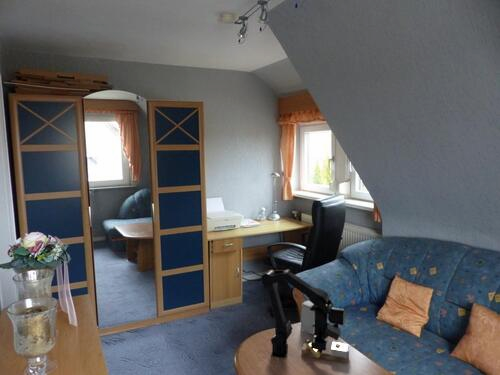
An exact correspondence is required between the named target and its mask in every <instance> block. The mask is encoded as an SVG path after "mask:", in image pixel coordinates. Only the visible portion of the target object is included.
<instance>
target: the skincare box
mask: <svg viewBox="0 0 500 375" xmlns="http://www.w3.org/2000/svg"><path fill="white" fill-rule="evenodd" d="M312 305H314V304H313V303H312V302H311V301H310V300H306V301H304V302H302V303H301V316H300V318H301V319H300V331H303V332H304V333H308V334H310V335H313V336H314V311H311V310H310V308H311V306H312Z"/></svg>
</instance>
